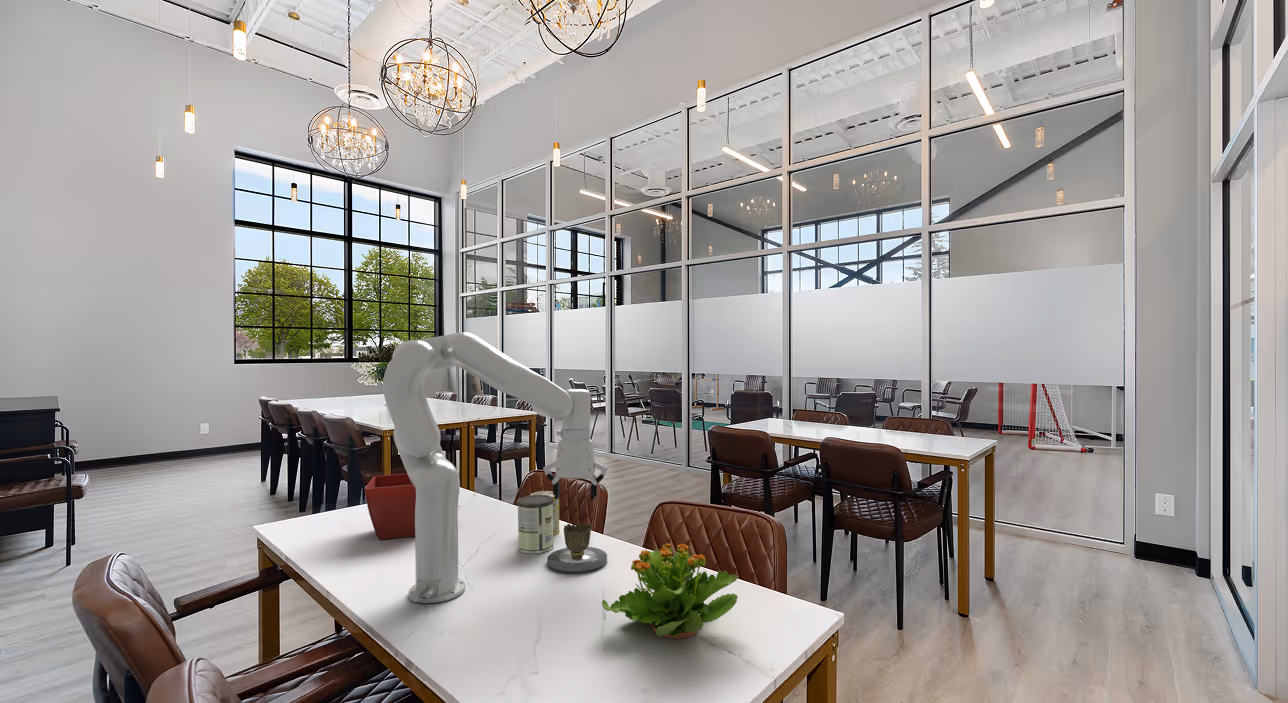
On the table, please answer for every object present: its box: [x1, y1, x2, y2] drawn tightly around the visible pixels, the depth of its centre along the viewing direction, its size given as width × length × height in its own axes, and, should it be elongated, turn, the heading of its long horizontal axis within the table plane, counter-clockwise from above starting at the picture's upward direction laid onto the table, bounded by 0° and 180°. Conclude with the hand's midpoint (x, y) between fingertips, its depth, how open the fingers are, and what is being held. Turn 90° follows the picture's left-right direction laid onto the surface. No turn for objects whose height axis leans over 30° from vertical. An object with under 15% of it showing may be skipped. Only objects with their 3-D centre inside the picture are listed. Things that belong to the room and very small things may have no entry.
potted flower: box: [601, 543, 739, 640], centre depth 115 cm, size 25×24×18 cm
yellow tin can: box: [529, 490, 560, 537], centre depth 177 cm, size 9×9×12 cm
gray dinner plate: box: [546, 546, 608, 575], centre depth 152 cm, size 16×16×2 cm
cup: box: [562, 522, 592, 558], centre depth 152 cm, size 8×7×8 cm
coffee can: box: [517, 495, 555, 555], centre depth 163 cm, size 10×10×14 cm
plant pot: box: [364, 472, 416, 540], centre depth 179 cm, size 19×19×17 cm
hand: (575, 498), depth 152 cm, fingers open, 9 cm apart
